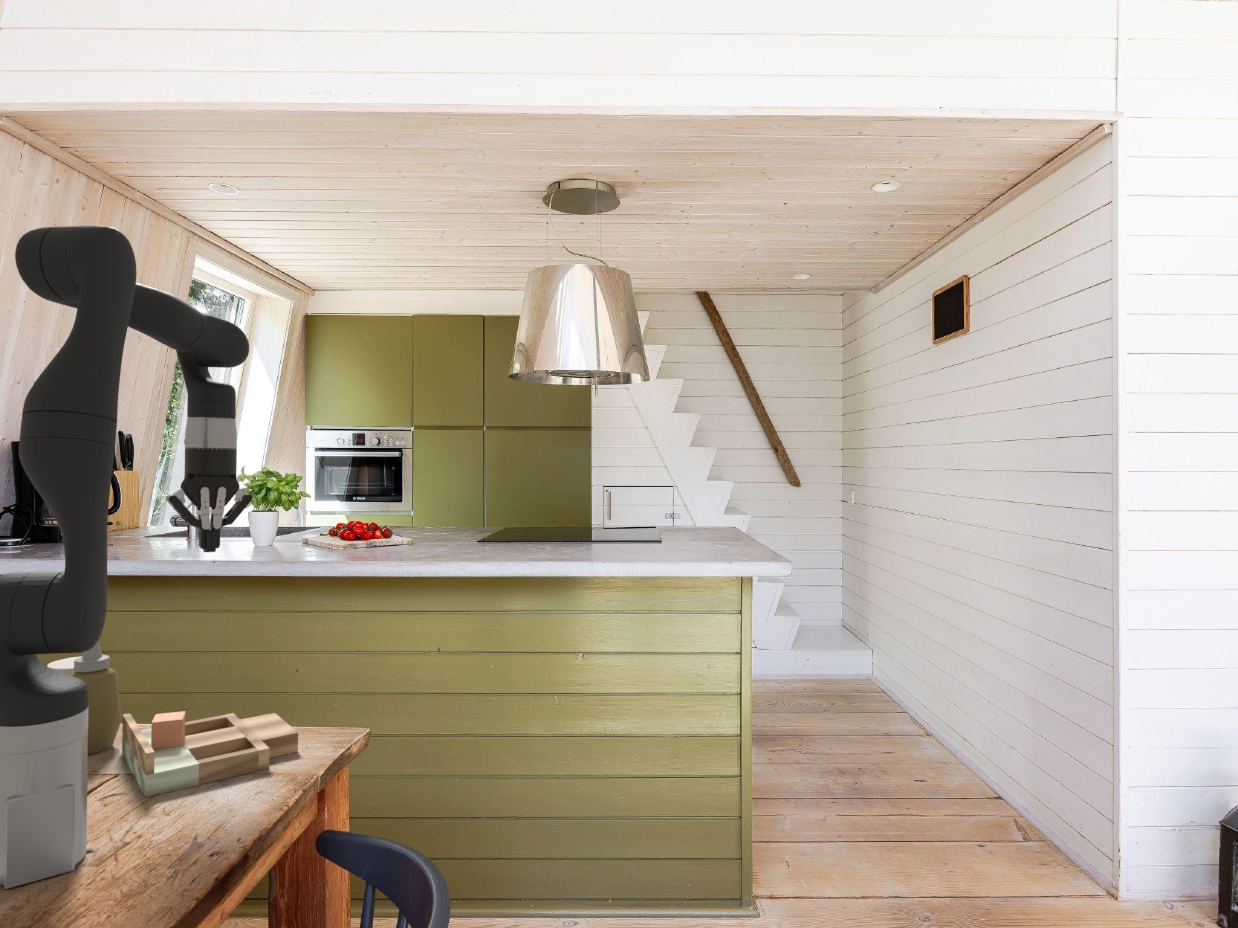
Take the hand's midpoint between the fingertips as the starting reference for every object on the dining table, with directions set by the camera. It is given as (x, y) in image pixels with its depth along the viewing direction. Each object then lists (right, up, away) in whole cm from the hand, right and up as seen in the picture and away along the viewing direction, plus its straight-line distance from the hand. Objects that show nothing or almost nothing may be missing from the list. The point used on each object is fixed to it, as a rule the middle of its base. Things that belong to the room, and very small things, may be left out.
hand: (209, 551), depth 125 cm
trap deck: (+4, -31, -7) cm, 32 cm away
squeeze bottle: (-17, -31, -4) cm, 35 cm away
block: (-1, -28, -9) cm, 30 cm away
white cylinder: (-23, -31, +2) cm, 39 cm away
